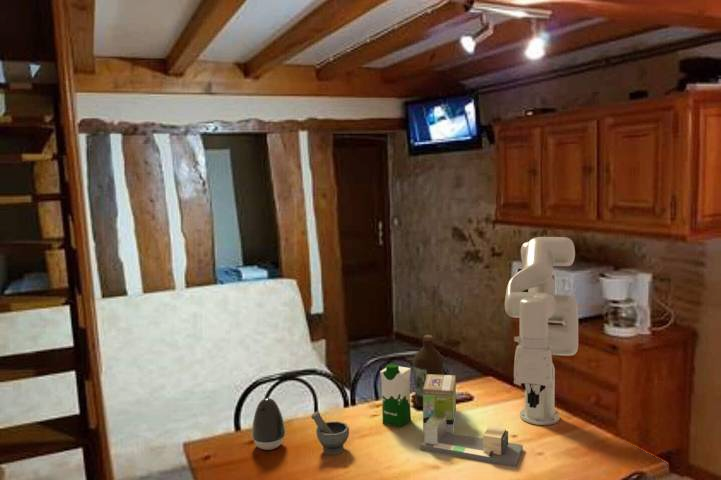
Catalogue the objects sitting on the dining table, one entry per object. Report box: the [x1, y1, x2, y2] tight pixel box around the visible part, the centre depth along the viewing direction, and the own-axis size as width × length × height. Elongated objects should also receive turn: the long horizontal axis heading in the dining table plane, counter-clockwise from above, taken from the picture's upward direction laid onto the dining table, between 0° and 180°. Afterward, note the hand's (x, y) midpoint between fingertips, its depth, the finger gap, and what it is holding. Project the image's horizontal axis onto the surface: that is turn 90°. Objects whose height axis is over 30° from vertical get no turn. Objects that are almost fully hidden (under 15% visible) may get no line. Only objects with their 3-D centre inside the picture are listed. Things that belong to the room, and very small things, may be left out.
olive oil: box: [412, 334, 444, 407], centre depth 210 cm, size 11×11×25 cm
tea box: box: [422, 374, 457, 434], centre depth 193 cm, size 15×10×15 cm, turn 168°
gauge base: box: [420, 432, 524, 468], centre depth 176 cm, size 11×28×2 cm, turn 65°
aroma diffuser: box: [251, 397, 286, 451], centre depth 182 cm, size 10×10×15 cm
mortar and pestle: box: [310, 411, 350, 455], centre depth 178 cm, size 11×9×12 cm
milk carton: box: [379, 363, 412, 429], centre depth 196 cm, size 9×9×20 cm
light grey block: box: [423, 414, 447, 446], centre depth 180 cm, size 9×4×6 cm, turn 155°
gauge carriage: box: [482, 425, 509, 457], centre depth 171 cm, size 10×6×5 cm, turn 155°
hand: (533, 406), depth 166 cm, fingers closed
